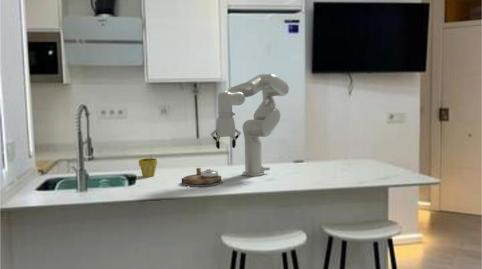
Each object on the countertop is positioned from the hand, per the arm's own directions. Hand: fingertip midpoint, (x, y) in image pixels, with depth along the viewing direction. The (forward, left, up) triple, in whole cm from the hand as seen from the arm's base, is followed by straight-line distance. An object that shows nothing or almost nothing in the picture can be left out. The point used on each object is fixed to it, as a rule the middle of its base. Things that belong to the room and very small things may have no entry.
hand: (225, 147), depth 263 cm
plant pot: (+38, -31, -18) cm, 53 cm away
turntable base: (+13, 0, -18) cm, 22 cm away
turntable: (+13, 0, -17) cm, 22 cm away
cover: (+9, 0, -15) cm, 18 cm away
